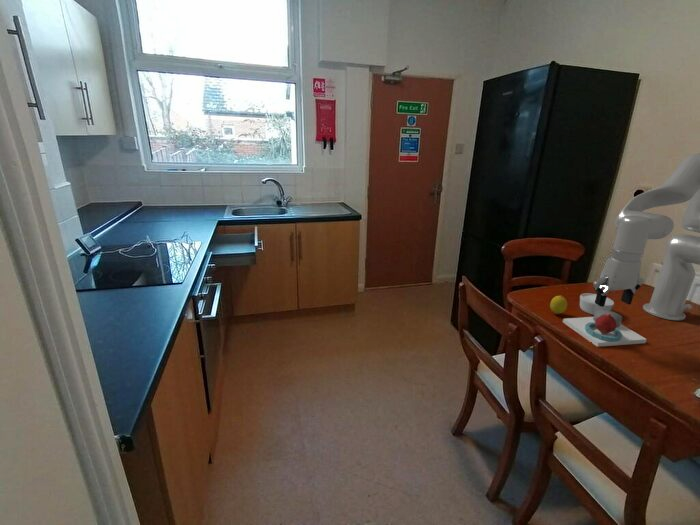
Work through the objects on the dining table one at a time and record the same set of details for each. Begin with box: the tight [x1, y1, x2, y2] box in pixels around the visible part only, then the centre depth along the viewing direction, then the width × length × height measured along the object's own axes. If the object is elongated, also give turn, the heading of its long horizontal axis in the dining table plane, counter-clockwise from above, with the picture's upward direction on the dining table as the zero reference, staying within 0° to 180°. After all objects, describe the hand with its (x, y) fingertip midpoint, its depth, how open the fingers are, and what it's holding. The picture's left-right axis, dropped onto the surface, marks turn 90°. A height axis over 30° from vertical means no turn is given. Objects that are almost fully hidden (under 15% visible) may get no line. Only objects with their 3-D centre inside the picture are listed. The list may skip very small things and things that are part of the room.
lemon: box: [549, 295, 568, 315], centre depth 131 cm, size 6×6×8 cm
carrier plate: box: [562, 309, 648, 348], centre depth 120 cm, size 18×16×4 cm
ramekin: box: [579, 292, 615, 316], centre depth 135 cm, size 11×11×5 cm
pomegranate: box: [595, 313, 617, 334], centre depth 116 cm, size 6×6×8 cm
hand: (612, 303), depth 113 cm, fingers open, 9 cm apart
